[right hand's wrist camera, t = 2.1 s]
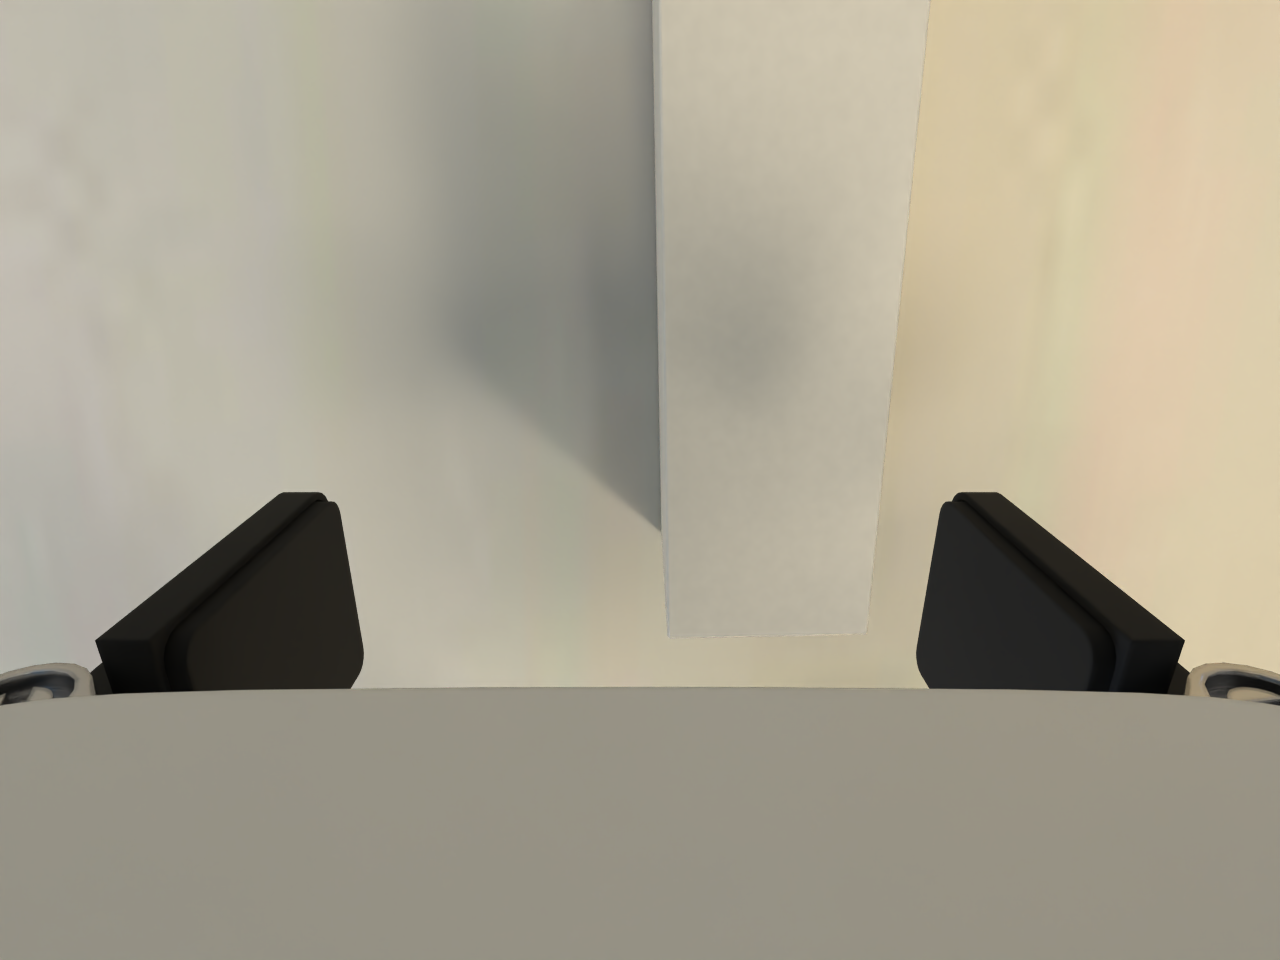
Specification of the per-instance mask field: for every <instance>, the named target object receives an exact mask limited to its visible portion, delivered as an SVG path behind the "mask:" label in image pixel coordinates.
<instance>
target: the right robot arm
mask: <svg viewBox="0 0 1280 960" xmlns="http://www.w3.org/2000/svg"><path fill="white" fill-rule="evenodd" d="M95 642H96V645H97V648H98V651H99V654H100V657H101V660H102V663H101V664H100V665H99V666H98V667H96V668H95V669H94V670H93V671H92V672H91V673H90V672H89V671H88V670H87V668H84V667H82V666H79V665H76V664H70V663H50V664H41V665H33V666H29V667H25V668H21V669H17V670H13V671H9V672H6V673H3V674H0V960H1280V674H1277V673H1274V672H1271V671H1267V670H1263V669H1259V668H1255V667H1251V666H1247V665H1239V664H1230V663H1210V664H1204V665H1201V666H1198V667H1196V668H1193V670H1192V671H1191V672H1190V673H1189V672H1188V671H1187V670H1186V669H1185V668H1184V667H1182V666H1181V665H1180V664H1179V663H1178V660H1179V657H1180V654H1181V651H1182V648H1183V645H1184V642H1185V640H1184V639H1182V638H1181V637H1180V636H1179V635H1177V634H1176V633H1175V632H1174V631H1172V630H1171V629H1170V628H1169V627H1167V626H1166V625H1165V624H1164V623H1162V622H1161V621H1160V620H1159V619H1157V618H1156V617H1155V616H1153V615H1152V614H1151V613H1150V612H1148V611H1147V610H1146V609H1145V608H1143V607H1142V606H1141V605H1140V604H1138V603H1137V602H1136V601H1135V600H1133V599H1132V598H1131V597H1130V596H1128V595H1127V594H1126V593H1125V592H1123V591H1122V590H1121V589H1120V588H1118V587H1117V586H1116V585H1114V584H1113V583H1112V582H1111V581H1109V580H1108V579H1107V578H1106V577H1104V576H1103V575H1102V574H1101V573H1099V572H1098V571H1097V570H1096V569H1094V568H1093V567H1092V566H1091V565H1089V564H1088V563H1087V562H1086V561H1084V560H1083V559H1082V558H1081V557H1079V556H1078V555H1077V554H1075V553H1074V552H1073V551H1072V550H1070V549H1069V548H1068V547H1067V546H1065V545H1064V544H1063V543H1062V542H1060V541H1059V540H1058V539H1057V538H1055V537H1054V536H1053V535H1052V534H1050V533H1049V532H1048V531H1047V530H1045V529H1044V528H1043V527H1042V526H1040V525H1039V524H1038V523H1036V522H1035V521H1034V520H1033V519H1031V518H1030V517H1029V516H1028V515H1026V514H1025V513H1024V512H1023V511H1021V510H1020V509H1019V508H1018V507H1016V506H1015V505H1014V504H1013V503H1011V502H1010V501H1009V500H1008V499H1006V498H1005V497H1004V496H1003V495H1001V494H999V493H997V492H961V493H958V494H957V495H955V496H954V498H953V500H952V502H945V503H944V504H943V505H942V507H941V510H940V514H939V520H938V526H937V532H936V538H935V544H934V549H933V555H932V561H931V567H930V573H929V579H928V585H927V590H926V596H925V602H924V608H923V614H922V620H921V625H920V631H919V637H918V643H917V650H916V659H917V665H918V669H919V671H920V673H921V675H922V677H923V679H924V680H925V682H926V684H927V685H928V687H929V689H895V688H775V687H477V688H382V689H351V687H352V685H353V684H354V682H355V680H356V679H357V677H358V675H359V673H360V671H361V669H362V665H363V659H364V650H363V643H362V637H361V631H360V625H359V620H358V614H357V608H356V602H355V596H354V590H353V585H352V579H351V573H350V567H349V561H348V555H347V549H346V544H345V538H344V532H343V526H342V520H341V514H340V510H339V507H338V505H337V504H336V503H335V502H328V500H327V498H326V496H325V495H323V494H322V493H319V492H283V493H281V494H279V495H277V496H276V497H275V498H274V499H272V500H271V501H270V502H269V503H267V504H266V505H265V506H264V507H262V508H261V509H260V510H259V511H257V512H256V513H255V514H254V515H252V516H251V517H250V518H249V519H247V520H246V521H245V522H244V523H242V524H241V525H240V526H238V527H237V528H236V529H235V530H233V531H232V532H231V533H230V534H228V535H227V536H226V537H225V538H223V539H222V540H221V541H220V542H218V543H217V544H216V545H215V546H213V547H212V548H211V549H210V550H208V551H207V552H206V553H205V554H203V555H202V556H201V557H199V558H198V559H197V560H196V561H194V562H193V563H192V564H191V565H189V566H188V567H187V568H186V569H184V570H183V571H182V572H181V573H179V574H178V575H177V576H176V577H174V578H173V579H172V580H171V581H169V582H168V583H167V584H166V585H164V586H163V587H162V588H160V589H159V590H158V591H157V592H155V593H154V594H153V595H152V596H150V597H149V598H148V599H147V600H145V601H144V602H143V603H142V604H140V605H139V606H138V607H137V608H135V609H134V610H133V611H132V612H130V613H129V614H128V615H127V616H125V617H124V618H123V619H121V620H120V621H119V622H118V623H116V624H115V625H114V626H113V627H111V628H110V629H109V630H108V631H106V632H105V633H104V634H103V635H101V636H100V637H99V638H98V639H96V640H95Z"/></svg>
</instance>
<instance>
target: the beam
mask: <svg viewBox="0 0 1280 960" xmlns="http://www.w3.org/2000/svg"><path fill="white" fill-rule="evenodd" d="M930 1H931V0H652V26H653V83H654V140H655V197H656V254H657V312H658V369H659V426H660V483H661V535H662V552H663V569H664V585H665V602H666V619H667V635H668V637H669V638H717V637H765V636H813V635H862V634H867V629H868V619H869V609H870V599H871V589H872V579H873V570H874V560H875V550H876V540H877V530H878V520H879V510H880V500H881V490H882V480H883V470H884V460H885V450H886V440H887V430H888V420H889V410H890V400H891V390H892V380H893V370H894V360H895V350H896V340H897V330H898V320H899V310H900V300H901V290H902V280H903V270H904V260H905V250H906V240H907V230H908V220H909V210H910V200H911V190H912V180H913V170H914V160H915V150H916V140H917V130H918V120H919V110H920V100H921V90H922V81H923V71H924V61H925V51H926V41H927V31H928V21H929V11H930Z"/></svg>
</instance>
